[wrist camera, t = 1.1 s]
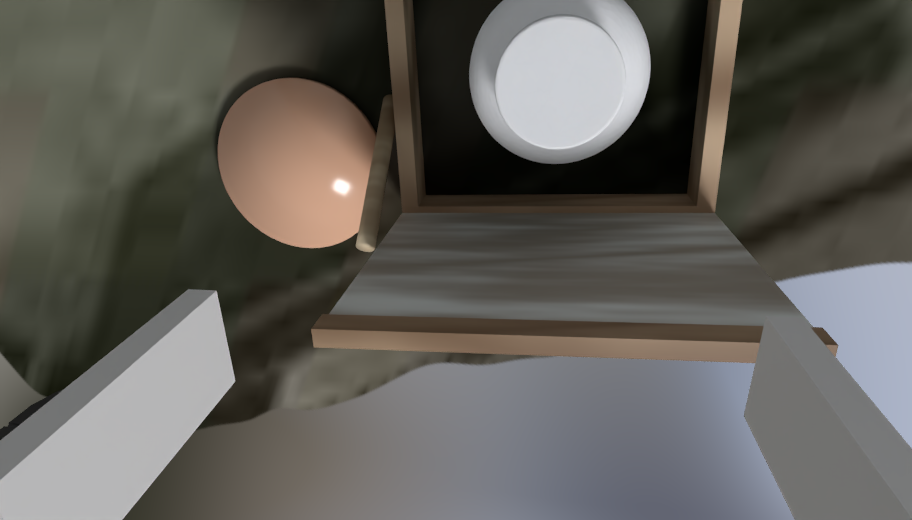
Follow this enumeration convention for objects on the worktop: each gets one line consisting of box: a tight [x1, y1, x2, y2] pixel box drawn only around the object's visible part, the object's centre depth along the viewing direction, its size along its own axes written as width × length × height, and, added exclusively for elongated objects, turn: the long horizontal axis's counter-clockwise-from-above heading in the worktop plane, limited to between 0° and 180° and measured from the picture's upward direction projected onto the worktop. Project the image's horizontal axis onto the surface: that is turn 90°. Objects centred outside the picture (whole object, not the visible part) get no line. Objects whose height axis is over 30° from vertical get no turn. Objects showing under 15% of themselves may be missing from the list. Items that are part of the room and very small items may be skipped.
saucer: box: [218, 77, 377, 248], centre depth 37 cm, size 11×11×1 cm
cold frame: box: [311, 0, 838, 363], centre depth 26 cm, size 16×19×17 cm
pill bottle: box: [469, 0, 651, 164], centre depth 27 cm, size 8×7×14 cm
